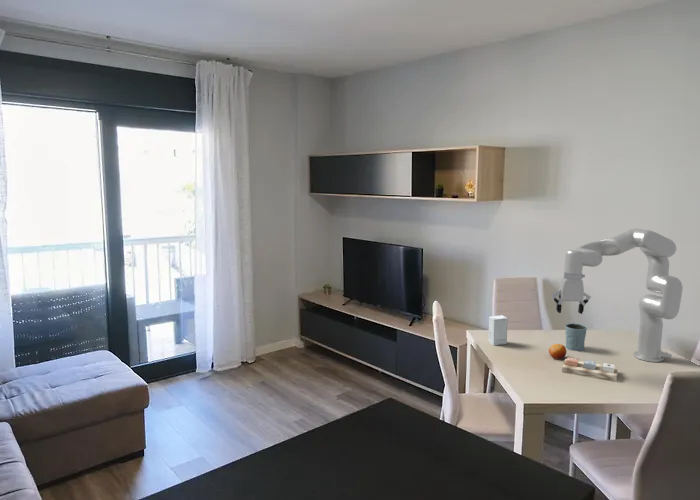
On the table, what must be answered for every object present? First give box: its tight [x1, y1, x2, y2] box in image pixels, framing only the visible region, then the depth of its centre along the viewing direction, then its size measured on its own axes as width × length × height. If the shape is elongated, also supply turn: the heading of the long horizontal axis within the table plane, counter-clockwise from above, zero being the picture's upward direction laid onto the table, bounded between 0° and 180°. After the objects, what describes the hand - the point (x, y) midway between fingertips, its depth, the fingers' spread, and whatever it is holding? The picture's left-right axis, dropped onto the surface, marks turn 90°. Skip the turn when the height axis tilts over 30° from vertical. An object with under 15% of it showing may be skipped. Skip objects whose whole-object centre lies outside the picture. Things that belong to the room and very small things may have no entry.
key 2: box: [583, 359, 597, 370], centre depth 223 cm, size 5×5×3 cm
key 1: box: [602, 362, 616, 373], centre depth 219 cm, size 5×5×3 cm
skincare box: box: [488, 314, 509, 346], centre depth 262 cm, size 8×6×15 cm
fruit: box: [548, 343, 567, 360], centre depth 241 cm, size 8×8×8 cm
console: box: [561, 358, 618, 382], centre depth 223 cm, size 22×12×2 cm, turn 59°
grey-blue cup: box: [565, 322, 588, 352], centre depth 254 cm, size 10×10×12 cm
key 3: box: [566, 356, 579, 367], centre depth 227 cm, size 5×5×3 cm
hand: (569, 312), depth 227 cm, fingers open, 9 cm apart
